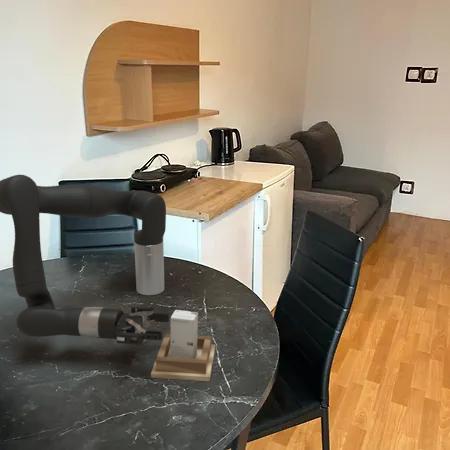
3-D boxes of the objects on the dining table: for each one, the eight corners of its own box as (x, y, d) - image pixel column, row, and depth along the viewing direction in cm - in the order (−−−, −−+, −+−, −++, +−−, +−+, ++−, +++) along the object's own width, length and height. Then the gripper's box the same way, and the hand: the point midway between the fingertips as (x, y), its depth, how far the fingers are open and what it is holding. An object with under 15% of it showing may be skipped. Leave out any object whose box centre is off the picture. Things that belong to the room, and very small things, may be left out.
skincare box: (169, 361, 118) (168, 317, 115) (175, 351, 122) (174, 308, 119) (193, 364, 117) (193, 320, 113) (198, 354, 121) (198, 311, 118)
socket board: (162, 345, 127) (162, 331, 126) (215, 348, 126) (215, 334, 125) (151, 377, 114) (150, 362, 112) (209, 381, 113) (209, 366, 112)
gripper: (90, 323, 110) (159, 327, 109) (109, 296, 124) (171, 299, 123) (92, 351, 113) (160, 355, 112) (110, 321, 126) (171, 325, 125)
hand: (165, 326), depth 117 cm, fingers open, 8 cm apart
